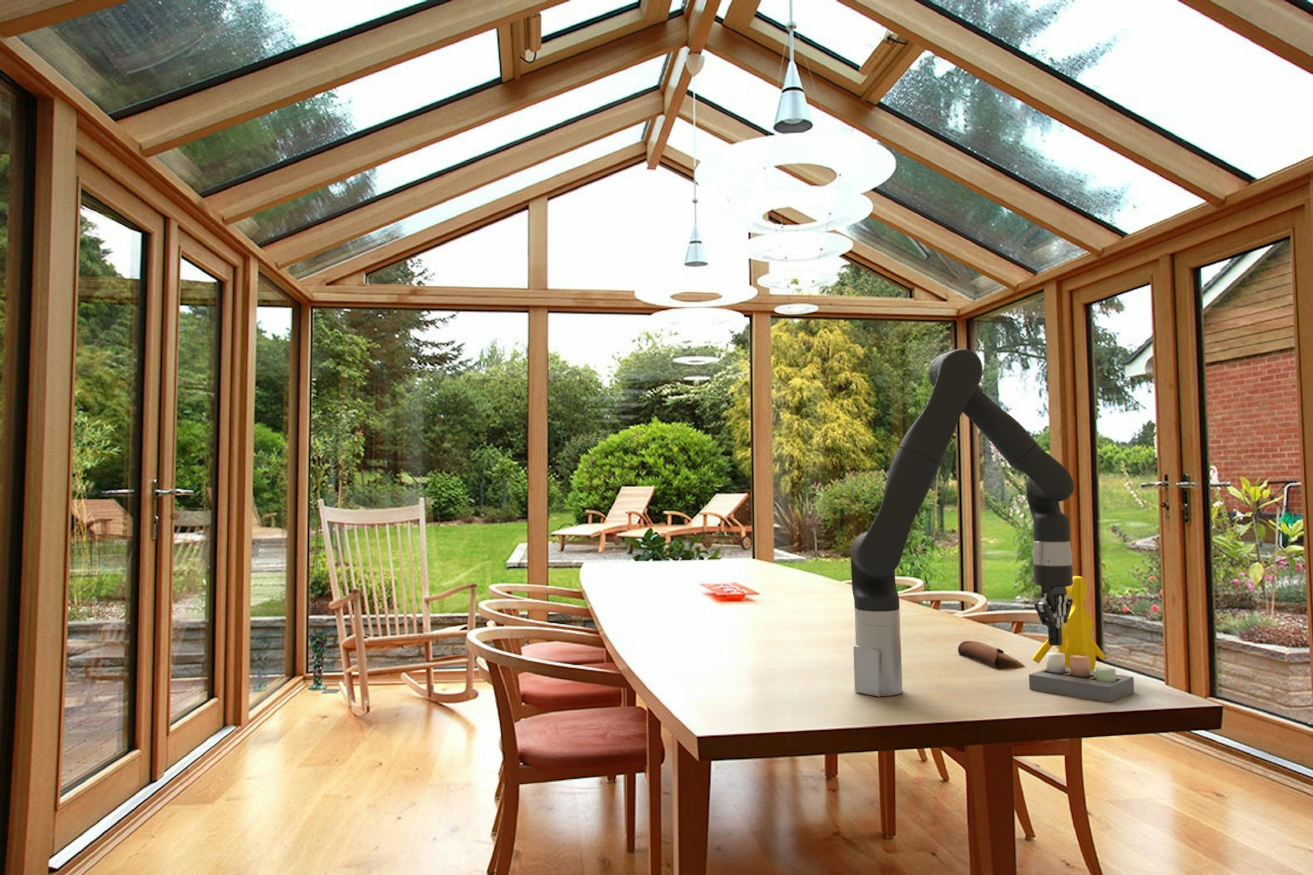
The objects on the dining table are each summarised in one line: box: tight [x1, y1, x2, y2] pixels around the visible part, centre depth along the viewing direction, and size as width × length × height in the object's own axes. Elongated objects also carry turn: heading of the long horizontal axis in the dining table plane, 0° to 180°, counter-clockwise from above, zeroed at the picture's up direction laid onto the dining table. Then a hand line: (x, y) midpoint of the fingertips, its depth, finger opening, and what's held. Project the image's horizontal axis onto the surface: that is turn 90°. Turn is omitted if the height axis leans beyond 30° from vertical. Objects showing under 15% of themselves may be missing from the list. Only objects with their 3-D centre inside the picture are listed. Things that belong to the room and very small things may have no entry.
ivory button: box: [1045, 651, 1066, 672], centre depth 182 cm, size 4×4×4 cm
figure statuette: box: [1031, 575, 1106, 671], centre depth 193 cm, size 18×8×22 cm, turn 99°
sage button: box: [1094, 666, 1116, 683], centre depth 174 cm, size 4×4×4 cm
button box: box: [1028, 667, 1135, 703], centre depth 178 cm, size 12×16×3 cm
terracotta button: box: [1070, 655, 1090, 676], centre depth 178 cm, size 4×4×4 cm
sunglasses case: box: [957, 640, 1027, 670], centre depth 209 cm, size 18×7×7 cm
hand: (1055, 644), depth 182 cm, fingers closed
